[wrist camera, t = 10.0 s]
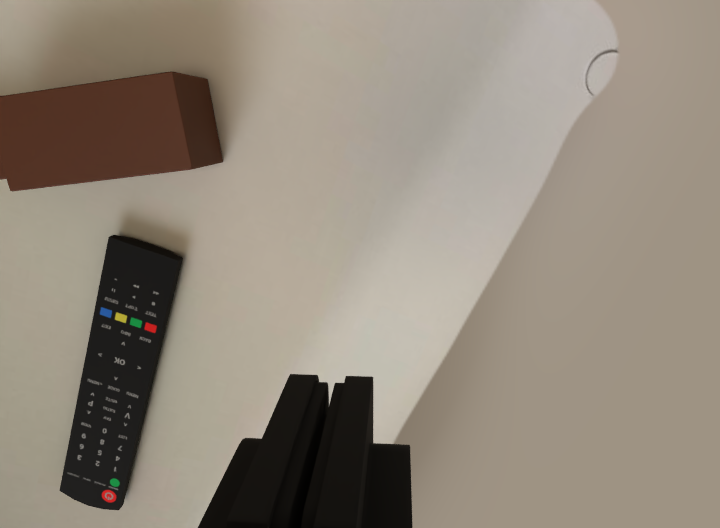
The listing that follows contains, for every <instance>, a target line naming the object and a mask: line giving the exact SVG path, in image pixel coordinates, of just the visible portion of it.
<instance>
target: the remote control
mask: <svg viewBox="0 0 720 528" xmlns="http://www.w3.org/2000/svg"><path fill="white" fill-rule="evenodd" d="M182 259H183V258H181V257H180V256H178V255H176V254H174V253H172V252H171V251H169V250H166V249H163V248H161V247H158V246H155V245H153V244H149V243H146V242H143V241H140V240H137V239H133V238H128V237H123V236H117V235H113V236H110V237H109V239H108V244H107V249H106V254H105V260H104V265H103V270H102V275H101V280H100V285H99V290H98V296H97V301H96V306H95V311H94V316H93V321H92V326H91V332H90V337H89V342H88V347H87V352H86V357H85V363H84V368H83V373H82V378H81V383H80V388H79V393H78V399H77V404H76V409H75V414H74V419H73V424H72V430H71V435H70V440H69V445H68V450H67V455H66V460H65V466H64V471H63V476H62V481H61V486H60V491H61V492H63V493H64V494H66V495H68V496H69V497H71V498H72V499H74V500H77V501H79V502H81V503H84V504H86V505H88V506H92V507H97V508H101V509H109V510H119V509H120V508H121V507H122V505H123V503H124V499H125V495H126V491H127V487H128V483H129V478H130V474H131V470H132V466H133V462H134V458H135V454H136V449H137V445H138V441H139V437H140V433H141V429H142V425H143V420H144V416H145V412H146V408H147V404H148V400H149V396H150V391H151V387H152V383H153V379H154V375H155V371H156V367H157V362H158V358H159V354H160V350H161V346H162V342H163V338H164V333H165V329H166V325H167V321H168V317H169V313H170V309H171V304H172V300H173V296H174V292H175V288H176V284H177V280H178V275H179V271H180V267H181V263H182Z"/></svg>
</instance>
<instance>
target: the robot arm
mask: <svg viewBox="0 0 720 528" xmlns="http://www.w3.org/2000/svg"><path fill="white" fill-rule="evenodd" d="M410 466H411V465H410V445H399V444H398V445H397V444H375V443H373V377H361V376H346V378H345V382H344V383H335V385H334V389H333V393H332V397H331V401H330V405H329V395H328V383H325V382H319V379H318V375H298V374H290V376H289V378H288V380H287V382H286V384H285V387H284V389H283V391H282V394H281V396H280V398H279V401H278V403H277V405H276V407H275V410H274V412H273V414H272V417H271V419H270V421H269V424H268V426H267V428H266V431H265V433H264V435H263V437H262V439H256V438H245V439H243V440H242V441H241V443H240V444H239V446H238V448H237V450H236V452H235V454H234V456H233V458H232V460H231V462H230V464H229V466H228V468H227V470H226V472H225V474H224V476H223V478H222V480H221V482H220V484H219V486H218V488H217V490H216V492H215V494H214V496H213V498H212V500H211V502H210V504H209V506H208V508H207V510H206V512H205V514H204V516H203V518H202V520H201V522H200V524H199V526H198V528H412V501H411V467H410Z"/></svg>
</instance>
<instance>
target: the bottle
mask: <svg viewBox="0 0 720 528" xmlns="http://www.w3.org/2000/svg"><path fill="white" fill-rule="evenodd" d="M221 162H223V159H222V154H221V148H220V143H219V138H218V133H217V127H216V122H215V117H214V112H213V106H212V101H211V96H210V91H209V85H208V80H207V79H204V78H200V77H195V76H190V75H186V74H181V73H176V72H165V73H158V74H151V75H144V76H137V77H130V78H123V79H116V80H110V81H103V82H96V83H89V84H82V85H75V86H68V87H61V88H54V89H47V90H40V91H33V92H26V93H20V94H13V95H6V96H0V179H7V181H8V185H9V188H10V191H19V190H28V189H36V188H44V187H52V186H60V185H68V184H77V183H85V182H93V181H101V180H109V179H117V178H126V177H134V176H142V175H150V174H158V173H166V172H175V171H183V170H191V169H196V168H200V167H204V166H208V165H213V164H217V163H221Z"/></svg>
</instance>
